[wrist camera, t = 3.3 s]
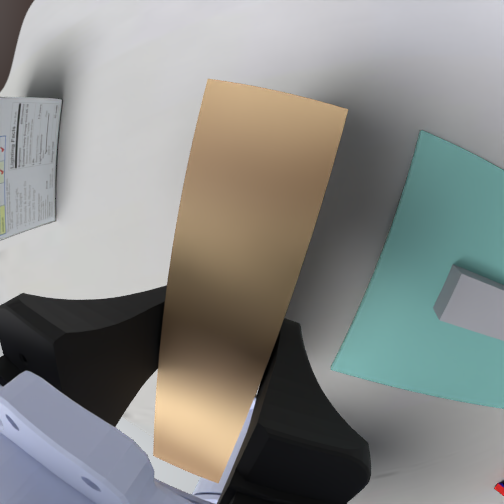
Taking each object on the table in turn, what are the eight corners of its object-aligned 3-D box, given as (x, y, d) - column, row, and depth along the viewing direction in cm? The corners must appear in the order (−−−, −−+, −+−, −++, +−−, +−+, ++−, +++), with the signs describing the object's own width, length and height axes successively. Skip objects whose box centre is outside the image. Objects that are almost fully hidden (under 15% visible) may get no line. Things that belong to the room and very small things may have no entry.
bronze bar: (246, 418, 17) (218, 483, 12) (191, 396, 17) (153, 455, 13) (343, 127, 11) (348, 109, 6) (256, 105, 12) (207, 78, 7)
